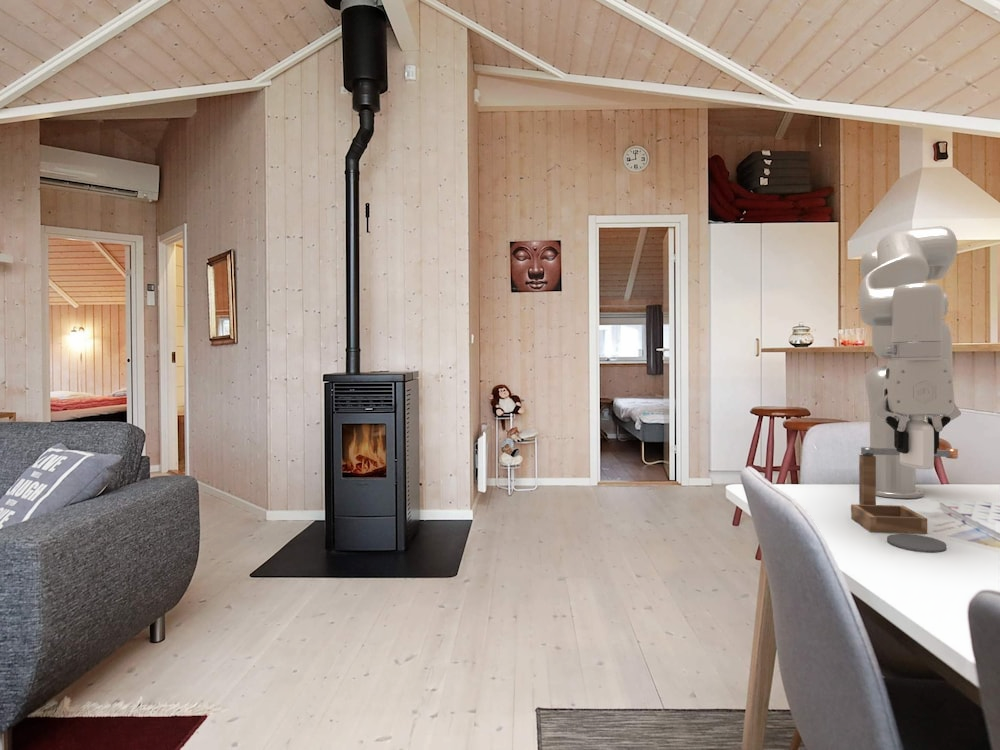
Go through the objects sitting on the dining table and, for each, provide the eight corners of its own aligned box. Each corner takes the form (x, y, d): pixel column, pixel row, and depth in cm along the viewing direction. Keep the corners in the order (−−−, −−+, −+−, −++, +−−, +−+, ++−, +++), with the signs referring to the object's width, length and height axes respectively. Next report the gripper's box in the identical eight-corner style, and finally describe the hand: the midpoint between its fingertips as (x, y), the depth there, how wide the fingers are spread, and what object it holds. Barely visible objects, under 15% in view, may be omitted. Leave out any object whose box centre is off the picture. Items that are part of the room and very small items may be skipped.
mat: (878, 536, 117) (878, 533, 117) (931, 537, 115) (931, 534, 115) (900, 551, 108) (900, 548, 108) (957, 553, 106) (957, 550, 106)
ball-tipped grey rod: (862, 455, 132) (862, 447, 132) (859, 454, 134) (859, 446, 134) (959, 458, 126) (959, 450, 126) (955, 456, 128) (955, 448, 128)
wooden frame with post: (840, 510, 135) (840, 454, 135) (890, 512, 133) (890, 454, 133) (870, 532, 119) (870, 468, 119) (927, 534, 117) (927, 469, 117)
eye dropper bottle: (907, 469, 109) (907, 402, 108) (897, 463, 114) (898, 399, 114) (936, 470, 107) (936, 402, 107) (925, 464, 113) (925, 400, 112)
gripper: (874, 353, 108) (874, 455, 109) (981, 351, 105) (980, 456, 105) (858, 353, 115) (858, 448, 116) (957, 351, 112) (956, 449, 113)
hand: (916, 451), depth 111 cm, fingers closed on eye dropper bottle, 4 cm apart
